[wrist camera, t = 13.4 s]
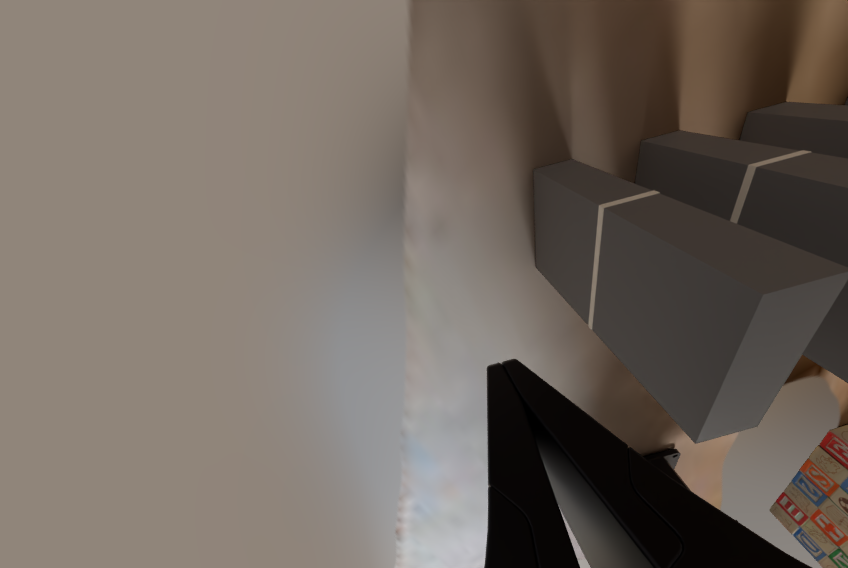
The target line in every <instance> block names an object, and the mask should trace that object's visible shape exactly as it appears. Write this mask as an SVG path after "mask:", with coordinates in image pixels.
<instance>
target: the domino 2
mask: <svg viewBox="0 0 848 568" xmlns="http://www.w3.org/2000/svg"><path fill="white" fill-rule="evenodd" d="M635 184H637V185H639V186H642V187H644V188H647V189H649V190H652V191H653V190H655V191H657V192H660V194H662V195H665V196H667V197H670V198H672V199H675V200H677V201H680V202H683V203H685V204H688V205H690V206H693V207H695V208H698V209H700V210H703V211H705V212H708V213H710V214H713V215H716V216H718V217H721V218H723V219H726V220H728V221H731V222H733V223H736V224H738V225H741V226H744V227H746V228H749V229H751V230H754V231H756V232H759V233H761V234H764V235H766V236H769V237H771V238H774V239H777V240H779V241H782V242H784V243H787V244H789V245H792V246H794V247H797V248H799V249H802V250H804V251H807V252H810V253H812V254H815V255H817V256H820V257H822V258H825V259H827V260H830V261H832V262H835V263H838V264H840V265H843V266H845V267H848V159H847V158H841V157H835V156H829V155H823V154H817V153H811V151H805V150H802V151H799V150H793V149H788V148H782V147H776V146H770V145H764V144H758V143H752V142H746V141H740V140H734V139H728V138H722V137H716V136H710V135H704V134H698V133H692V132H686V131H680V130H679V131H675V132H672V133H668V134H664V135H660V136H657V137H653V138H649V139H646V140H642V141H641V145H640V152H639V158H638V165H637V172H636V179H635ZM802 354H803V355H804V356H806V357H807V358H809V359H811V360H812V361H814V362H815V363H817V364H818V365H820V366H822V367H823V368H825V369H826V370H828V371H830V372H831V373H833V374H834V375H836V376H837V377H839V378H841V379H842V380H844V381H845V382H847V383H848V280H847V282H846V284H845V285H844V287H843V288H842V290H841V292H840V293H839V295H838V297H837V298H836V300H835V301H834V303H833V305H832V306H831V308H830V310H829V311H828V313H827V314H826V316H825V318H824V319H823V321H822V323H821V324H820V326H819V327H818V329H817V331H816V332H815V334H814V335H813V337H812V339H811V340H810V342H809V344H808V345H807V347H806V348H805V350H804V352H803V353H802Z"/></svg>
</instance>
